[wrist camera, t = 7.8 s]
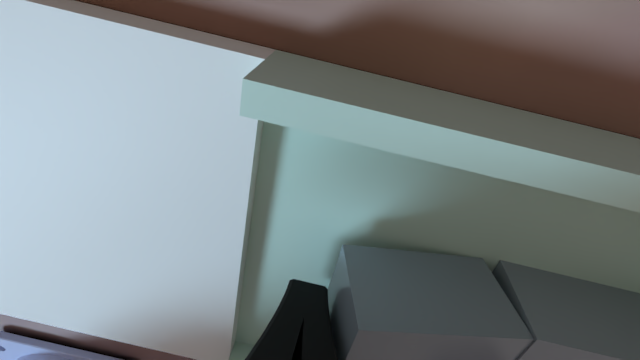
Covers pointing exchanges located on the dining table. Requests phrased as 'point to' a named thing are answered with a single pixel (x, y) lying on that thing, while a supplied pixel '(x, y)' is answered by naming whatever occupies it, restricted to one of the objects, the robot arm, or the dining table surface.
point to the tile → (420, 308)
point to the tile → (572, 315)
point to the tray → (424, 183)
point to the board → (124, 176)
